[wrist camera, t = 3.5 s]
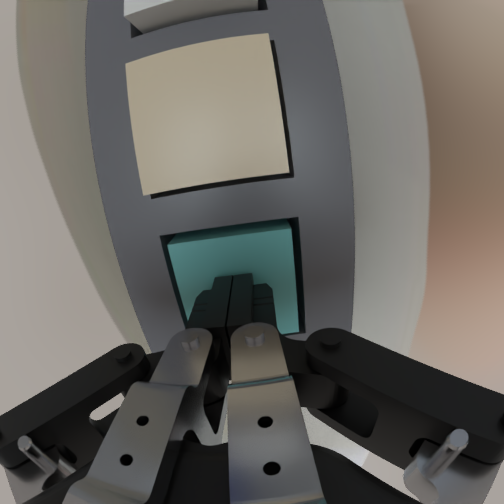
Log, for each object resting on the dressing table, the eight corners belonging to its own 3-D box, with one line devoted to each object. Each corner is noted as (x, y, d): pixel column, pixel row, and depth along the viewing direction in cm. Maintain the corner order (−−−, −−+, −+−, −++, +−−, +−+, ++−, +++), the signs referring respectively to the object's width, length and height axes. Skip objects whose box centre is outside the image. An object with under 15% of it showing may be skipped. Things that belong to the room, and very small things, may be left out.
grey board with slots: (121, -19, 9) (95, -46, 5) (282, -50, 8) (288, -87, 4) (177, 333, 17) (162, 376, 14) (331, 317, 17) (348, 359, 13)
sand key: (157, 83, 10) (125, 64, 7) (264, 63, 10) (268, 33, 7) (171, 182, 12) (143, 195, 9) (278, 165, 12) (289, 172, 8)
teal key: (186, 221, 14) (167, 245, 11) (281, 208, 14) (291, 228, 10) (205, 303, 15) (194, 341, 12) (290, 293, 15) (298, 331, 12)
